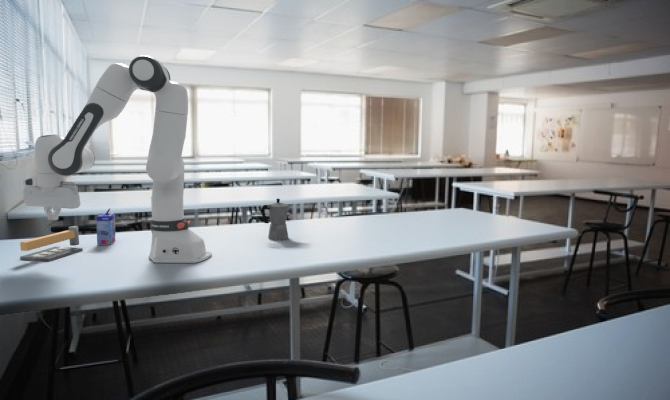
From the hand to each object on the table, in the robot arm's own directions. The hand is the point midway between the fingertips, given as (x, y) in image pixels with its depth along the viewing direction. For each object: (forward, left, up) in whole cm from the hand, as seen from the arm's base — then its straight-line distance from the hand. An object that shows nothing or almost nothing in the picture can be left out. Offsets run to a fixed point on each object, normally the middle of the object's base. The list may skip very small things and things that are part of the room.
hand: (53, 219), depth 158 cm
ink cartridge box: (0, -27, -15) cm, 31 cm away
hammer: (+6, -5, -13) cm, 15 cm away
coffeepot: (-66, -52, -15) cm, 85 cm away
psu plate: (+6, -5, -15) cm, 17 cm away
